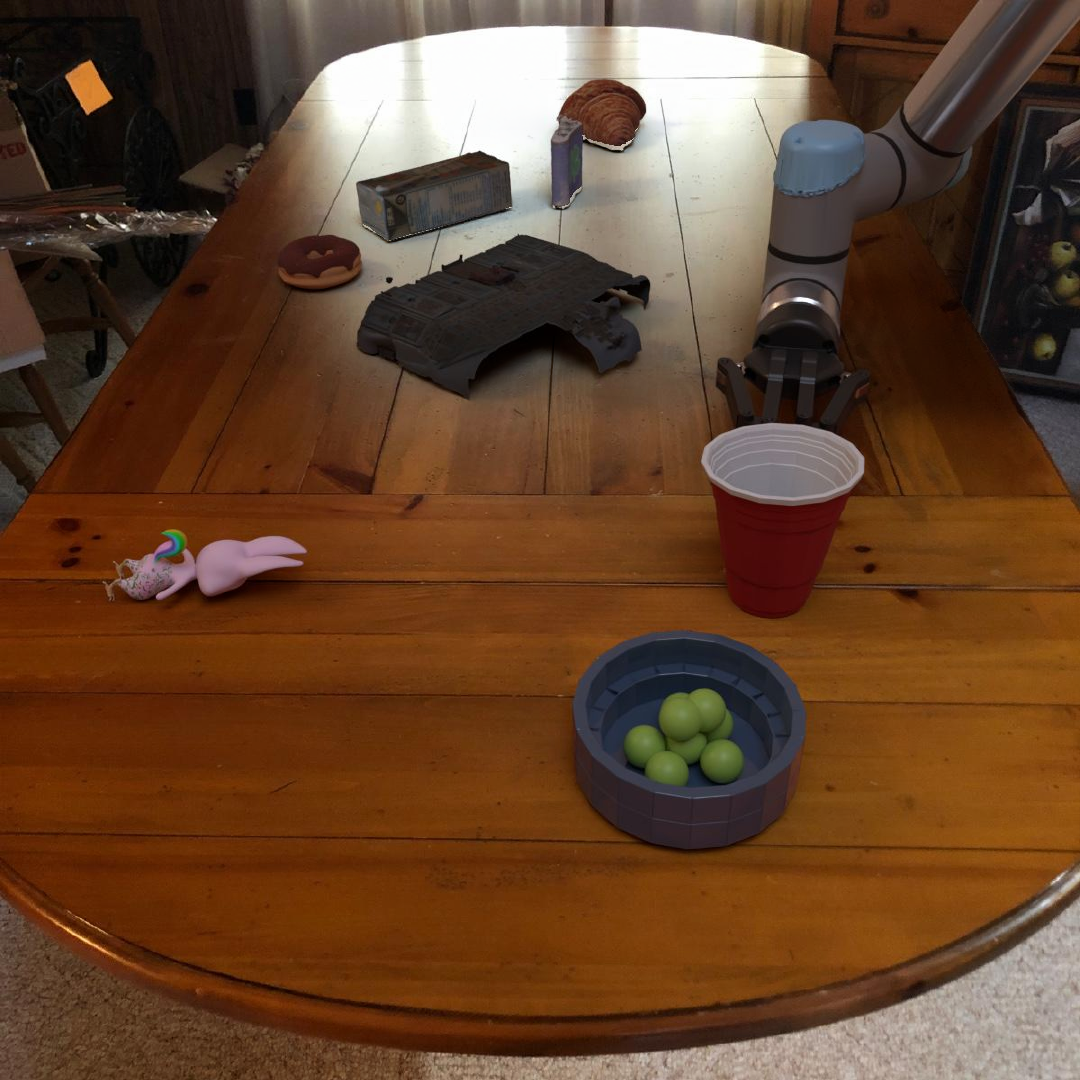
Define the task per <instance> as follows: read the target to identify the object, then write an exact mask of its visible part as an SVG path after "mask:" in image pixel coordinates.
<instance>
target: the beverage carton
mask: <svg viewBox="0 0 1080 1080" xmlns="http://www.w3.org/2000/svg"><path fill="white" fill-rule="evenodd" d="M511 179H512V178H511V169H510V163H509V162H508V161H506V160H501V159H499V158H498V157H496V156H494V155H491V154H488V153H486V152H484V151H482V150H477V151H474V152H466V153H465V154H461V155H458V156H454V157H451V158H446V159H443V160H439V161H436V162H431V163H428V164H424V165H421V166H417V167H412V168H409V169H403V170H401V171H397V172H391V173H388V174H385V175H380V176H377V177H371V178H366V179H363V180H357V182H356V183H355V187H356V188H355V189H356V195H357V199H358V201H357V202H358V209H359V216H360V220H361V225H362V224H364V225H366V226H368V227H370V228H371V229H372V230H373V231H375V232H376V233H377V234H379V235H381V236H382V237H383V238H385V239H386V240H393V239H396V238H399V237H403V236H406V235H409V234H415V233H418V232H422V231H426V230H430V229H434V228H438V227H441V226H445V227H447V226H446V225H448V226H452V225H455V223H456V224H459V223H462V222H466V221H468V219H469V220H472V219H475V218H474V217H476V218H479V217H483V216H485V215H486V214H487V215H490V214H493V213H497V211H498V212H501V211H500V210H502V211H504V210H503V209H505V210H507V209H506V208H509V207H512V208H513V196H512V182H511ZM509 209H510V208H509ZM471 218H472V219H471ZM465 220H466V221H465ZM458 222H459V223H458ZM451 224H452V225H451ZM438 229H439V228H438ZM434 230H435V229H434ZM382 237H381V238H382ZM383 238H382V239H383ZM385 239H384V240H385ZM386 240H385V241H386ZM396 240H397V239H396ZM393 241H394V240H393Z"/></svg>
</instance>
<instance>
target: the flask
mask: <svg viewBox="0 0 1080 1080" xmlns="http://www.w3.org/2000/svg"><path fill="white" fill-rule="evenodd" d="M560 117H562V115H560V116H558V115H557V116H556V119H555V120H556V122H558V119H559V118H560ZM571 119H572V118H570V119H568V118H567V116H563V117H562V118H561V119H560V122H561V123H560V125H559V124H558V127H557V129H556V130H555V131H554V133H552V136H551V138H550V171H551V172H550V174H551V175H550V176H551V185H550V186H551V201H550V202H551V206H552V205H554V206H555V207H556V206H558V207H561V206H565V205H568V204H569V203H570V198H571V197H572V195H573V193H574V192H575V191H576V190H577V189H579V188H580V187H581V186H582V187H583V157H584V156H583V150H584V149H583V147H584V146H583V143H584V141H583V136H582V135H583V124H582V123H581V122H579V121H570V120H571ZM558 207H557V208H558Z"/></svg>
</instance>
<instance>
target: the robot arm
mask: <svg viewBox="0 0 1080 1080" xmlns="http://www.w3.org/2000/svg"><path fill="white" fill-rule="evenodd" d="M1079 21H1080V0H978V1H977V2H976V3H975V4H974V7H973V8H972V9H971V11H970V12H969V13H968V14H967V16H966V17H965V19H964V20H963V21H962V22H961V24H960V25H959V27H958V28H957V29H956V30H955V32H954V33H953V35H952V36H951V37H950V39H949V40H948V42H947V43H946V44H945V46H944V47H943V48H942V50H941V51H940V52H939V54H938V55H937V56H936V58H935V59H934V60H933V62H932V63H931V64H930V65H929V67H928V69H927V70H926V71H925V72H924V74H923V75H922V77H921V78H920V79H919V81H918V82H917V83H916V85H915V86H914V87H913V89H912V90H911V91H910V93H909V94H908V96H907V97H906V98H905V100H904V101H903V103H902V104H901V105H900V107H898V108H897V110H896V111H895V113H894V114H893V115H892V117H891V118H890V119H889V121H888V122H886V123H885V125H883V126H882V127H881V128H878V129H875V130H871V131H869V132H863V131H862V130H861V129H860V128H859V127H858V126H856V125H854V124H851V123H848V122H845V121H840V120H834V119H818V120H804V121H799V122H797V123H794V124H792V125H790V126H789V127H787V128H786V129H785V131H784V132H783V133H782V135H781V137H780V141H779V145H778V152H777V156H776V162H775V169H774V171H773V173H772V181H773V190H772V199H771V211H770V223H769V232H768V243H767V248H766V257H765V265H764V267H765V268H764V277H763V284H762V293H761V301H760V307H759V311H758V314H757V319H756V324H755V329H754V330H755V331H754V335H753V341H752V346H751V350H750V351H749V353H747V354H745V356H744V358H743V361H741V362H735V361H733V360H732V359H731V358H729V357H725V356H724V357H720V358H718V359H717V363H716V364H717V366H716V376H715V377H716V379H715V387H716V388H717V389H718V390H719V391H720V392H721V393H722V394H723V395H724V396H725V399H726V403H727V407H728V410H729V414H730V418H731V422H732V426H733V430H734V429H737V428H740V427H743V426H751V425H759V424H768V423H780V424H791V423H788V422H779V414H780V409H781V401H782V400H792V401H796V409H795V418H794V419H795V421H794V424H796V425H805V426H809V427H813V428H817V429H821V430H825V431H829V432H832V433H833V434H835V435H837V436H840V434H841V432H842V430H843V428H844V427H845V425H846V423H847V421H848V419H849V418H850V416H851V413H852V412H853V411H854V409H855V408H856V407H858V406H859V405H861V404H863V403H864V402H867V398H868V393H869V386H870V381H871V372H870V371H869V370H867V369H858V370H856V371H854V372H852V373H851V372H848V371H845V365H844V363H843V362H842V361H841V360H840V358H839V357H840V343H841V342H840V339H841V325H842V324H841V323H842V320H841V318H842V313H841V312H842V305H843V303H842V302H843V296H844V295H843V294H844V287H845V279H846V272H847V266H848V265H847V264H848V259H849V253H850V249H851V242H852V241H851V240H852V235H853V228H854V224H855V223H858V222H861V221H864V220H866V219H870V218H872V217H875V216H878V215H881V214H884V213H886V212H889V211H892V210H895V209H898V208H901V207H904V206H907V205H910V204H912V203H916V202H920V201H926V200H929V199H932V198H934V197H937V196H938V195H940V194H941V193H943V192H944V191H946V190H948V189H950V188H952V187H954V186H955V185H956V184H958V183H959V182H960V181H961V180H962V179H963V177H964V176H965V175H966V173H967V171H968V169H969V166H970V162H971V159H972V156H973V145H974V143H975V142H977V140H978V139H979V138H980V137H981V136H982V134H983V133H984V132H985V131H986V129H987V128H988V127H989V126H990V125H991V124H992V122H993V121H994V120H995V119H996V118H997V117H998V116H999V115H1000V114H1001V112H1002V111H1003V110H1004V108H1005V107H1006V106H1007V105H1008V104H1009V103H1010V102H1011V100H1012V99H1013V98H1014V97H1015V95H1017V93H1019V91H1020V90H1021V89H1022V88H1023V86H1024V85H1026V83H1027V82H1028V81H1029V79H1030V78H1031V77H1032V76H1033V75H1034V73H1035V72H1036V71H1037V70H1038V69H1039V68H1040V66H1042V64H1043V63H1044V62H1045V61H1046V60H1047V58H1048V57H1049V56H1051V53H1052V52H1053V51H1054V50H1055V49H1056V48H1057V47H1058V45H1059V44H1060V43H1062V41H1063V39H1064V38H1066V36H1067V35H1068V34H1069V33H1070V32H1071V30H1072V29H1073V28H1074V27H1075V26H1076V24H1077V23H1078V22H1079ZM746 380H747V381H748V382H749V383H750V384H751V385H752V386H754V387H755V388H756V389H757V390H759V392H761V393H762V394H763V395H764V400H763V401H764V402H763V408H762V413H761V417H760V416H757V415H755V409H754V405H753V402H752V399H751V395H750V392H749V389H748V386H747V382H746ZM834 389H836V391H835V392H834V394H833V397H832V398H831V399H830V401H829V403H828V405H827V407H825V409H824V411H823V413H822V415H821V416H820V418H819V422H813V418H814V414H813V413H814V400H815V399H818V398H819V397H821V396H823V395H825V394H827V393H829V392H831V391H832V390H834Z"/></svg>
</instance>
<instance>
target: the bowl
mask: <svg viewBox="0 0 1080 1080" xmlns="http://www.w3.org/2000/svg"><path fill="white" fill-rule="evenodd" d="M698 689H710V690H713V691H715V692H716V693H718V694H719V695H720V696H721V697H722V699H723V700H724V702H725V705H726V709H727V710H728V711H729V712H730V714H731V716H732V718H733V731H732V733H731V735H730V737H729V738H728V739H727V740H729V741H731V742H733V743H735V744H736V745H737V746H738V747H739V748H740V750H741V751H742V753H743V756H744V767H743V770H742V773H741V774H740V776H739V777H738V778H737V779H735V780H734V781H732V782H729V783H717V782H714V781H712V780H710V779H709V778H708V777H707V776H706V775H705V774H704V772H703V771H702V768H701V764H700V760H699V761H698V762H696V763H694V764H690V765H687V766H688V770H689V778H688V781H687V784H686V786H685V787H683V786H677V785H671V784H665V783H658V782H656V781H654V780H651V779H649V778H647V777H645V768H639V767H636V766H634V765H633V764H631V763H630V762H629V761H628V760H627V758H626V756H625V754H624V750H623V742H624V739H625V737H626V735H627V733H628V732H629V731H630V730H631V729H633V728H634V727H636V726H640V725H649V726H652V727H654V728H656V729H657V730H659V731H660V732H661V734H662V735H663V737H664V739H665V734H664V733H663V731H662V730H661V728H660V725H659V713H660V709H661V706H662V703H663V702H664V700H665V699H666V698H667V697H668V696H670V695H672V694H674V693H687V694H690V693H692V692H693V691H695V690H698ZM571 704H572V705H571V706H572V707H571V708H572V709H571V711H572V712H571V714H572V757H573V762H574V763H573V764H574V771H575V776H576V781H577V782H578V784H579V786H580V789H582V791H583V793H584V794H585V796H586V798H587V801H589V804H590V805H591V806H592V807H593V808H594V809H595V810H596V811H597V812H598V813H599V814H601V815H602V816H603V817H604V818H605V819H607V820H608V822H610V823H611V824H612V825H613V826H615V827H616V828H617V829H619V830H621V831H623V832H625V833H628V834H630V835H633V836H635V837H637V838H639V839H641V840H643V841H646V842H648V843H651V844H654V845H660V846H665V847H670V848H671V847H672V848H678V849H683V850H696V849H697V850H698V849H708V848H719V847H726V846H730V845H732V844H736V843H738V842H741V841H743V840H745V839H748V838H750V837H754V836H756V835H758V834H760V833H762V831H764V829H766V828H768V826H770V825H771V824H772V823H773V822H775V820H777V819H778V818H779V817H780V816H781V815H783V814H784V812H785V811H786V808H787V807H788V805H789V803H790V801H791V799H792V797H793V796H794V793H795V791H796V790H797V787H798V782H799V776H800V770H801V765H802V759H803V751H804V746H805V741H806V730H807V729H806V728H807V727H806V726H807V710H806V707H805V704H804V702H803V699H802V697H801V694H800V691H799V689H798V686H797V684H796V683H795V682H794V680H793V679H792V678H791V677H790V675H788V674H787V673H786V672H785V671H784V669H783V668H782V667H781V666H780V665H779V663H777V662H776V661H775V660H773V659H771V658H770V657H768V656H767V655H765V654H764V653H762V652H761V651H759V650H758V649H756V648H754V647H753V646H751V645H749V644H746V643H744V642H742V641H738V640H735V639H733V638H730V637H728V636H724V635H722V634H716V633H710V632H702V631H694V630H687V629H678V630H667V631H666V630H665V631H654V632H648V633H644V634H642V635H639V636H635V637H632V638H629V639H626V640H622V641H621V642H619V643H618V644H615V645H614V646H613V647H611V648H609V649H608V650H607V651H605V652H603V653H602V654H600V655H598V656H597V657H596V658H595V659H594V661H592V662H591V664H590V665H589V666H588V668H587V669H586V670H585V671H584V672H583V674H582V675H581V676H580V678H579V679H578V683H577V686H576V689H575V693H574V696H573V700H572V702H571Z"/></svg>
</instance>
